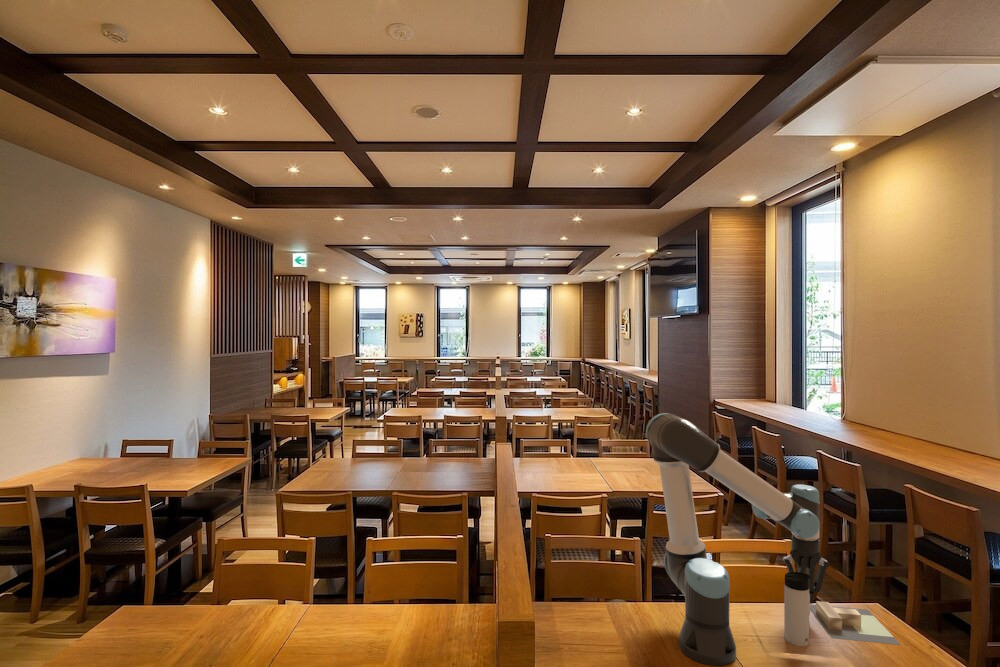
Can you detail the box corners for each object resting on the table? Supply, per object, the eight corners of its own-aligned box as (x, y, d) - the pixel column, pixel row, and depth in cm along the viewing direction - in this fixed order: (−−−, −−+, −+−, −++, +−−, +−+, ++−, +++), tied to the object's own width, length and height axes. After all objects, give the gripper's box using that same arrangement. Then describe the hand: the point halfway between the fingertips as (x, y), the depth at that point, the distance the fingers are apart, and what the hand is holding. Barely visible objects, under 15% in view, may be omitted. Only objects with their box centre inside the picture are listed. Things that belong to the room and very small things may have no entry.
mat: (831, 642, 156) (831, 637, 156) (806, 607, 175) (806, 604, 175) (901, 649, 152) (901, 644, 152) (867, 613, 172) (867, 609, 172)
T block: (829, 629, 160) (828, 617, 160) (816, 612, 170) (816, 601, 170) (866, 632, 158) (866, 620, 158) (851, 615, 168) (851, 604, 168)
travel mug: (813, 651, 151) (813, 580, 151) (788, 648, 152) (788, 578, 152) (806, 639, 157) (805, 570, 157) (781, 636, 158) (781, 568, 158)
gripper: (786, 539, 164) (786, 617, 164) (833, 542, 161) (833, 621, 161) (778, 530, 171) (779, 605, 171) (823, 533, 169) (823, 609, 169)
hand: (805, 613), depth 166 cm, fingers closed
